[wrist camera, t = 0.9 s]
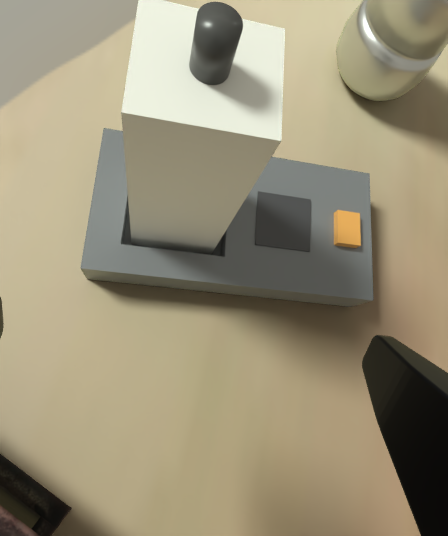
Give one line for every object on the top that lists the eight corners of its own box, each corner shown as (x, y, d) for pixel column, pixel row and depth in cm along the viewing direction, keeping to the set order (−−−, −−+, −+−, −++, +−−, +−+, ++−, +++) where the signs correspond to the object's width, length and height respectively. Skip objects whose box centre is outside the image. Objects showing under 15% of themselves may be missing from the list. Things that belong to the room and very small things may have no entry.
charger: (216, 191, 24) (304, -19, 11) (211, 254, 23) (302, 106, 10) (140, 179, 23) (139, -61, 10) (131, 244, 22) (118, 69, 9)
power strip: (349, 190, 27) (374, 169, 24) (351, 306, 25) (378, 299, 22) (107, 151, 24) (102, 122, 21) (87, 278, 22) (79, 265, 19)
